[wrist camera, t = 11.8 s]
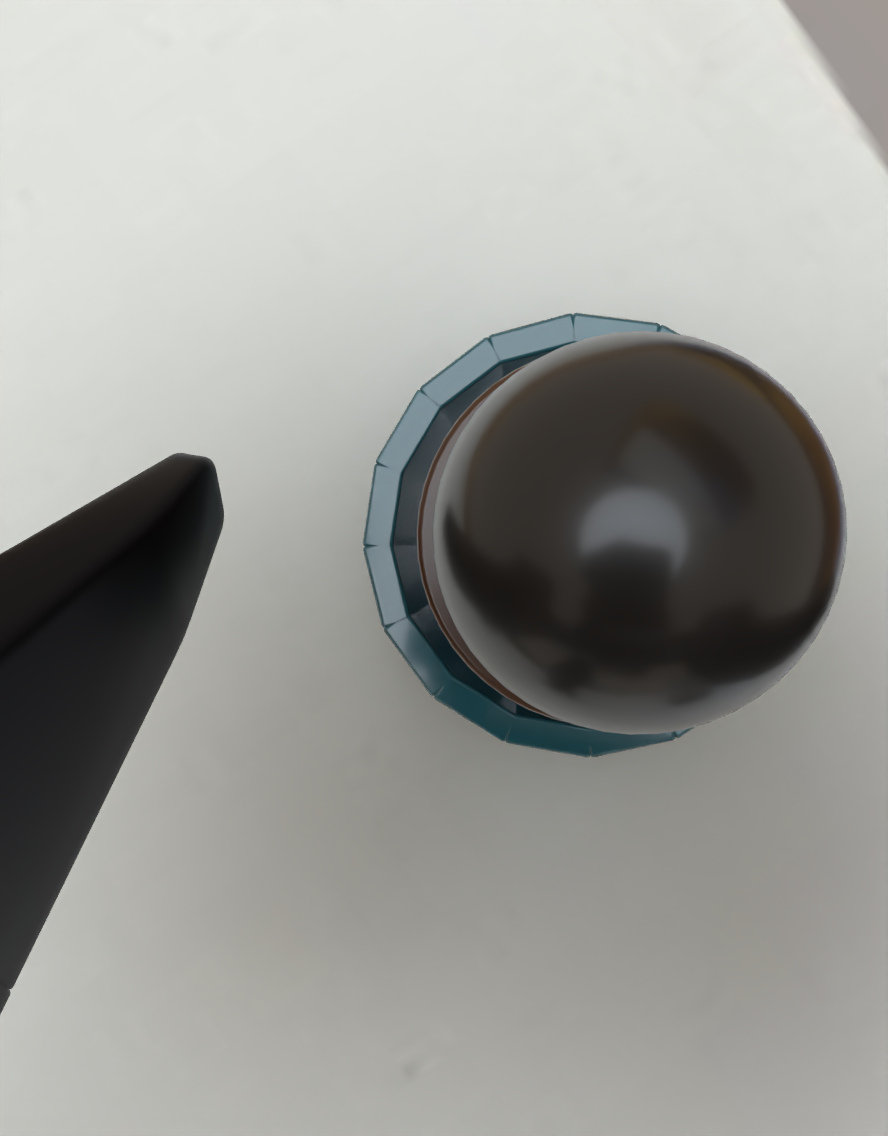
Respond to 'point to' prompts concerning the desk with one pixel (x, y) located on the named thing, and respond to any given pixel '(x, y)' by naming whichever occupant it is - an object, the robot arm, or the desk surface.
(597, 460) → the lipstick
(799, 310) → the desk surface
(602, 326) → the cup
